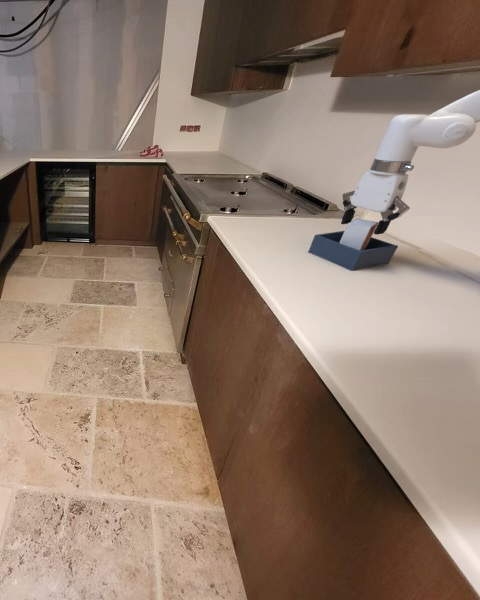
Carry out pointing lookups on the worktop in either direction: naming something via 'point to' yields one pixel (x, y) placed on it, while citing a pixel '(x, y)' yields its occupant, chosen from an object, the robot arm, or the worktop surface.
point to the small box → (358, 233)
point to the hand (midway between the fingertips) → (361, 228)
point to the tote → (352, 251)
